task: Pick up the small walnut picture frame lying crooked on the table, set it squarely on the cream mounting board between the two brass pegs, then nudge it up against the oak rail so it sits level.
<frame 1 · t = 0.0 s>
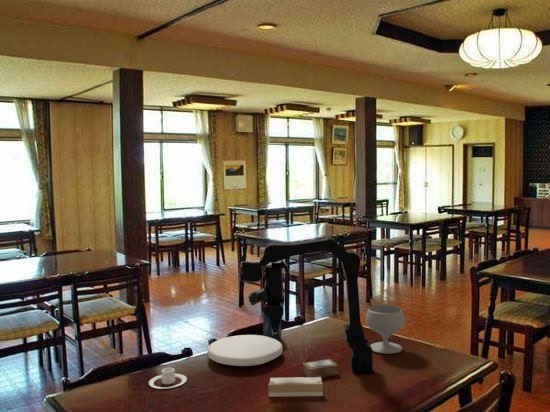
hand: (275, 328, 174), 15 cm above the table, tool pointing down, fingers open, 9 cm apart
frame: (320, 374, 173), on the table
soda can: (272, 339, 209), on the table
chalice: (385, 349, 194), on the table
white thick flat disc: (245, 358, 190), on the table
wall board: (295, 388, 162), on the table
candle holder: (168, 383, 170), on the table
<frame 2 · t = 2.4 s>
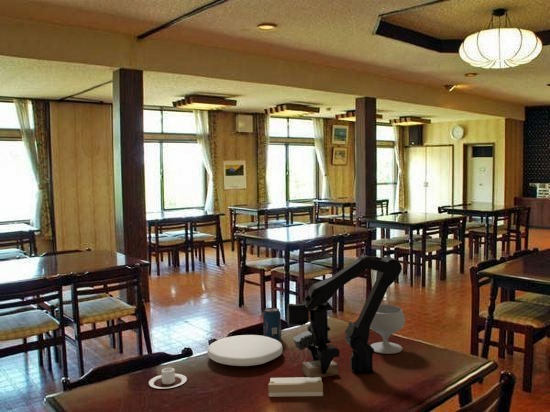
hand: (320, 370, 173), 1 cm above the table, tool pointing down, fingers closed on frame, 6 cm apart
frame: (320, 373, 173), on the table, touching gripper
everything else where it was.
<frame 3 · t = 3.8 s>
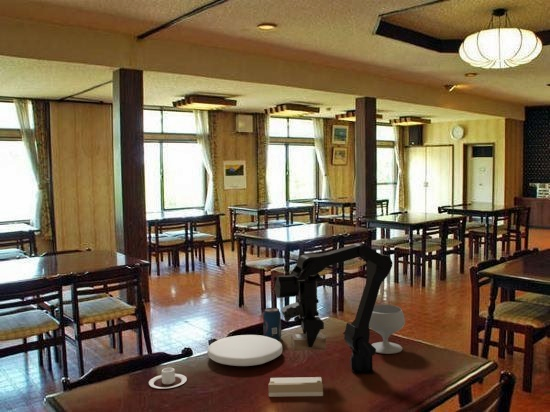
hand: (308, 343, 168), 11 cm above the table, tool pointing down, fingers closed on frame, 6 cm apart
frame: (308, 346, 168), point 10 cm above the table, touching gripper
everything else where it was.
when the fingers open (4 cm above the table, at t = 5.7 s): frame drops 2 cm, resting on wall board.
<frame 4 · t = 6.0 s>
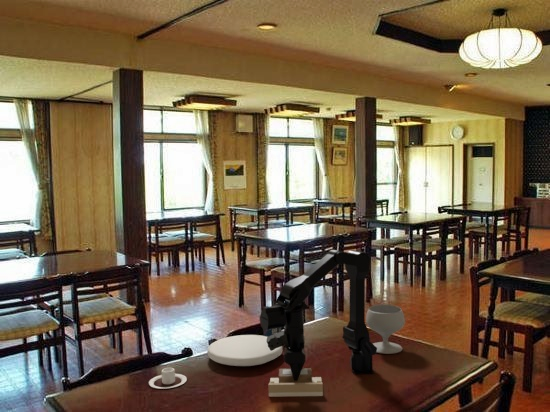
hand: (295, 374, 163), 4 cm above the table, tool pointing down, fingers open, 9 cm apart
frame: (295, 383, 163), point 1 cm above the table, touching wall board
everything else where it was.
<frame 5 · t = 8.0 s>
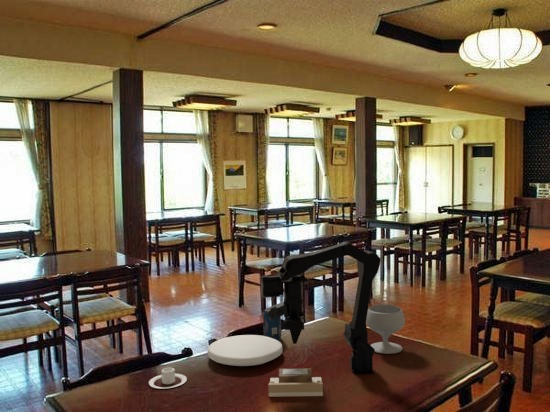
hand: (294, 343, 170), 11 cm above the table, tool pointing down, fingers closed
nothing on the table moved.
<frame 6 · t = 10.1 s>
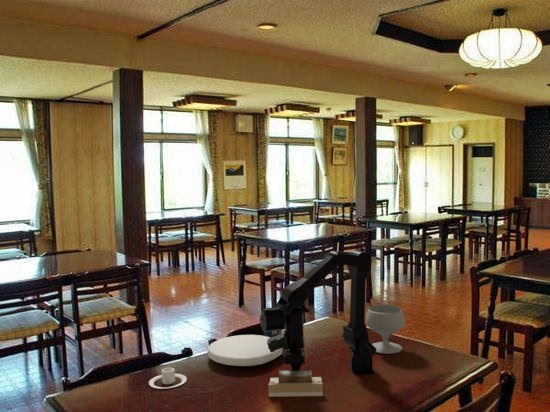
hand: (295, 375, 166), 2 cm above the table, tool pointing down, fingers closed
frame: (295, 385, 161), point 1 cm above the table, touching gripper, wall board
everything else where it was.
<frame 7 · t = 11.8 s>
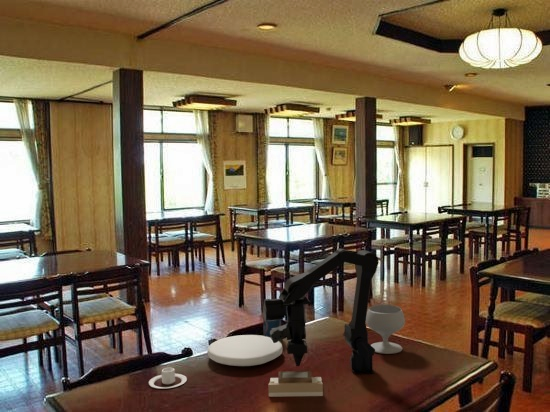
hand: (297, 365, 170), 4 cm above the table, tool pointing down, fingers closed
frame: (295, 386, 160), point 1 cm above the table, touching wall board
everything else where it was.
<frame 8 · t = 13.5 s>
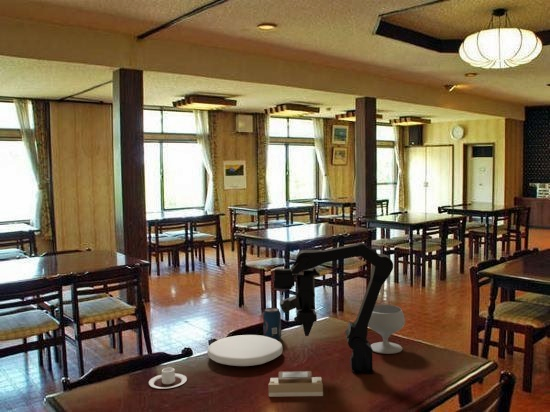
hand: (306, 335, 174), 12 cm above the table, tool pointing down, fingers closed
nothing on the table moved.
at the end: frame 0.1 cm from the target spot, point 1.2 cm above the table; frame touching wall board; the gripper is holding nothing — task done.
